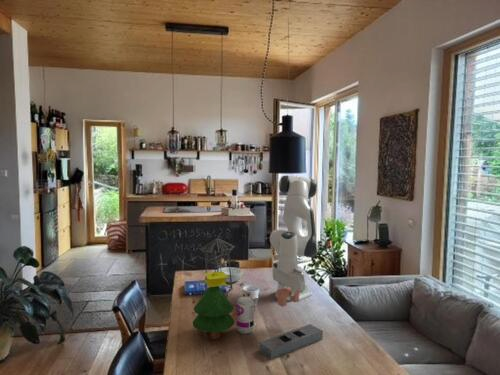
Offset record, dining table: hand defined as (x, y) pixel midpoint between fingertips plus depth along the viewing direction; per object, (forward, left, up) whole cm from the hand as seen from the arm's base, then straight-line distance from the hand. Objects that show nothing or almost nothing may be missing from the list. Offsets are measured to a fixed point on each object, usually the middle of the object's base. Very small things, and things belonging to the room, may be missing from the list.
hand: (288, 294), depth 178 cm
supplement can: (+19, -9, -16) cm, 27 cm away
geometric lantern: (+9, -52, -16) cm, 55 cm away
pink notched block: (0, 0, -4) cm, 4 cm away
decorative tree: (+34, -13, -16) cm, 40 cm away
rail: (+10, +14, -16) cm, 24 cm away
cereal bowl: (-12, -72, -17) cm, 74 cm away
